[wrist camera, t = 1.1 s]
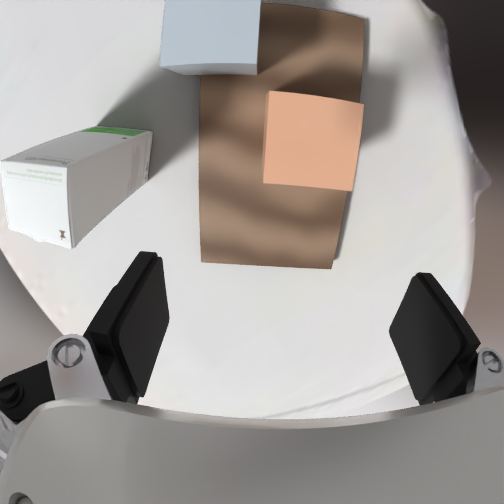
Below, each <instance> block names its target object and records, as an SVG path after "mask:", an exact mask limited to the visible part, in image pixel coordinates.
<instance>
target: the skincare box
mask: <svg viewBox="0 0 504 504" xmlns="http://www.w3.org/2000/svg"><path fill="white" fill-rule="evenodd" d="M152 136H153V132H152V131H146V130H137V129H128V128H115V127H102V126H94V127H91V128H87V129H84V130H81V131H77V132H74V133H71V134H68V135H65V136H62V137H59V138H56V139H53V140H51V141H48V142H45V143H42V144H40V145H37V146H35V147H32V148H30V149H27V150H25V151H23V152H20V153H18V154H16V155H13V156H11V157H9V158H7V159H4V160H1V162H0V163H1V179H2V187H3V195H4V202H5V208H6V215H7V221H8V227H9V229H10V230H13V231H16V232H19V233H22V234H25V235H28V236H30V237H31V238H32V239H34V240H35V241H38V242H43V241H47V242H50V243H53V244H57V245H60V246H63V247H66V248H69V249H73V248H75V247H76V246H77V244H78V243H79V242H80V241H81V240H82V239H83V238H84V237H85V236H86V235H87V234H88V233H89V232H90V231H91V230H92V229H93V228H94V227H95V226H96V225H97V224H98V223H100V222H101V221H102V220H103V219H104V218H105V217H106V216H107V215H108V214H109V213H111V212H112V211H113V210H114V209H115V208H116V207H117V206H118V205H120V204H121V203H122V202H123V201H124V200H125V199H127V198H128V197H129V196H130V195H131V194H133V193H134V192H135V191H136V190H137V189H139V188H140V187H141V186H143V185H144V184H145V183H146V182H147V179H148V169H149V160H150V152H151V144H152Z"/></svg>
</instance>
